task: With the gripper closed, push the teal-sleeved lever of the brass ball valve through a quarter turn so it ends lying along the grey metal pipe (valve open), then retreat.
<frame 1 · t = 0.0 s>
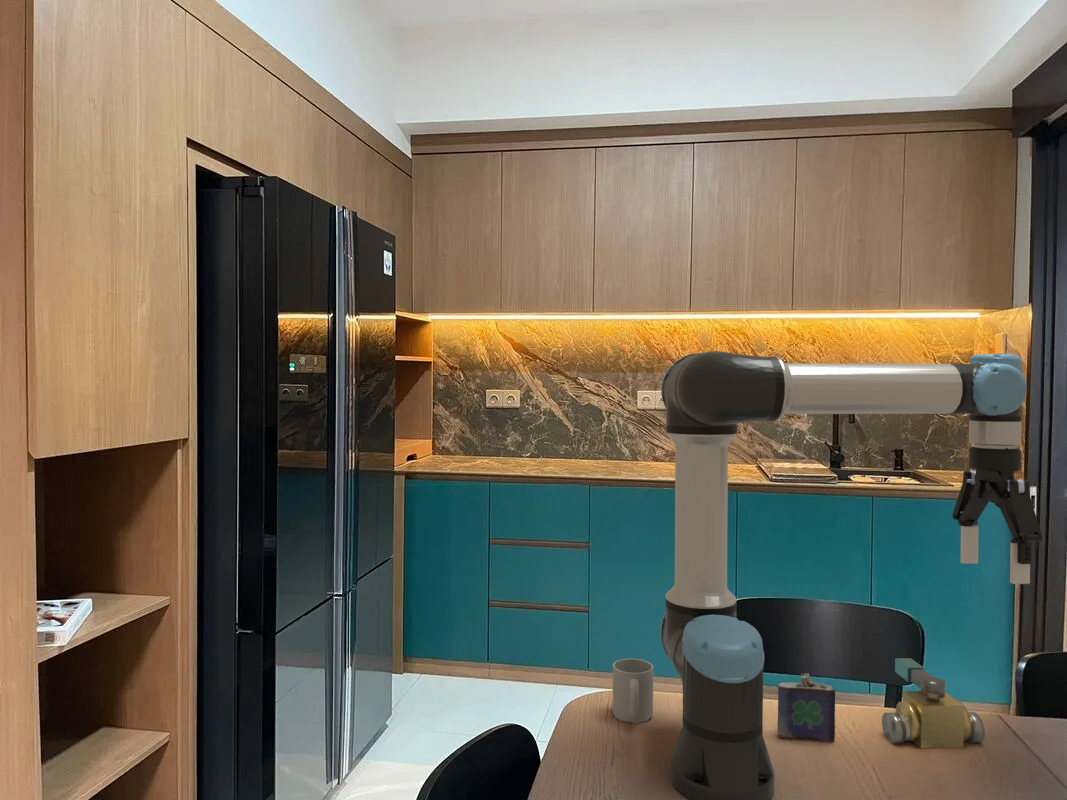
hand: (993, 572, 127), 28 cm above the table, fingers open, 13 cm apart
cup: (633, 719, 136), on the table
pipe valve: (932, 739, 128), on the table
lever: (920, 677, 131), point 9 cm above the table, hinge at 90.0°
flask: (805, 739, 128), on the table
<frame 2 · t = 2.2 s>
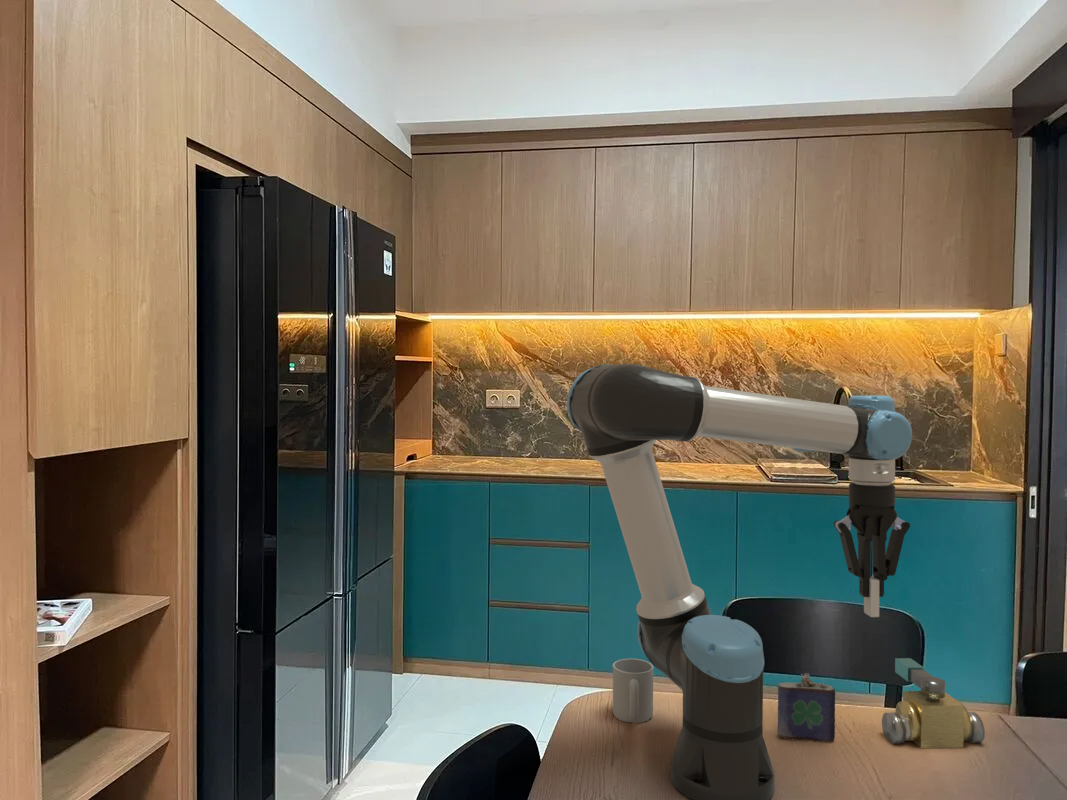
hand: (871, 614, 135), 19 cm above the table, fingers closed
nothing on the table moved.
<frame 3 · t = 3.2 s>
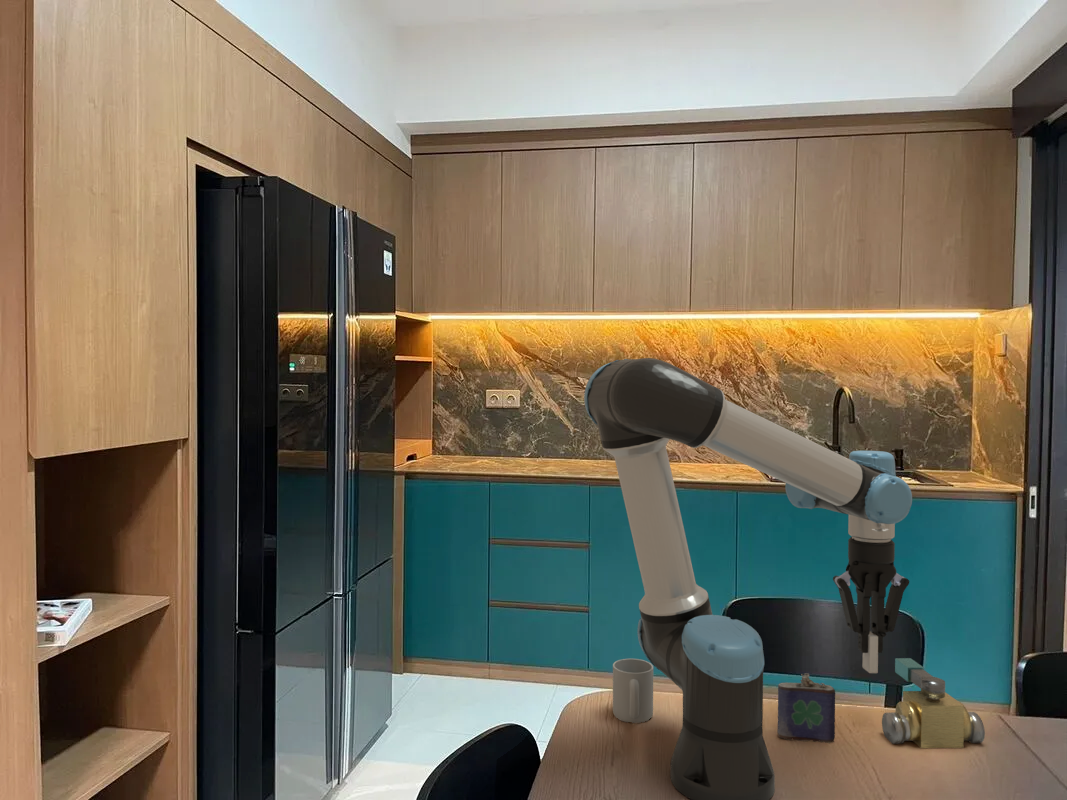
hand: (870, 670, 135), 9 cm above the table, fingers closed
nothing on the table moved.
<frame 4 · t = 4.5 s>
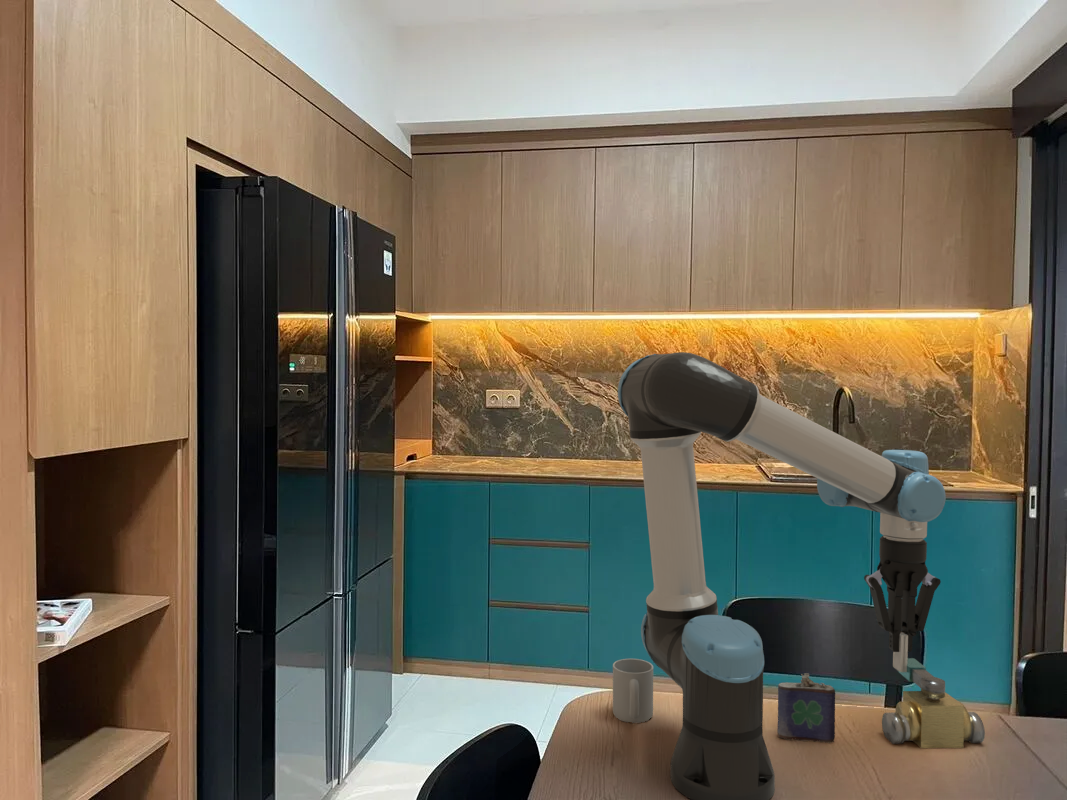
hand: (900, 669, 135), 9 cm above the table, fingers closed
lever: (921, 677, 131), point 9 cm above the table, hinge at 86.5°, touching gripper
everything else where it was.
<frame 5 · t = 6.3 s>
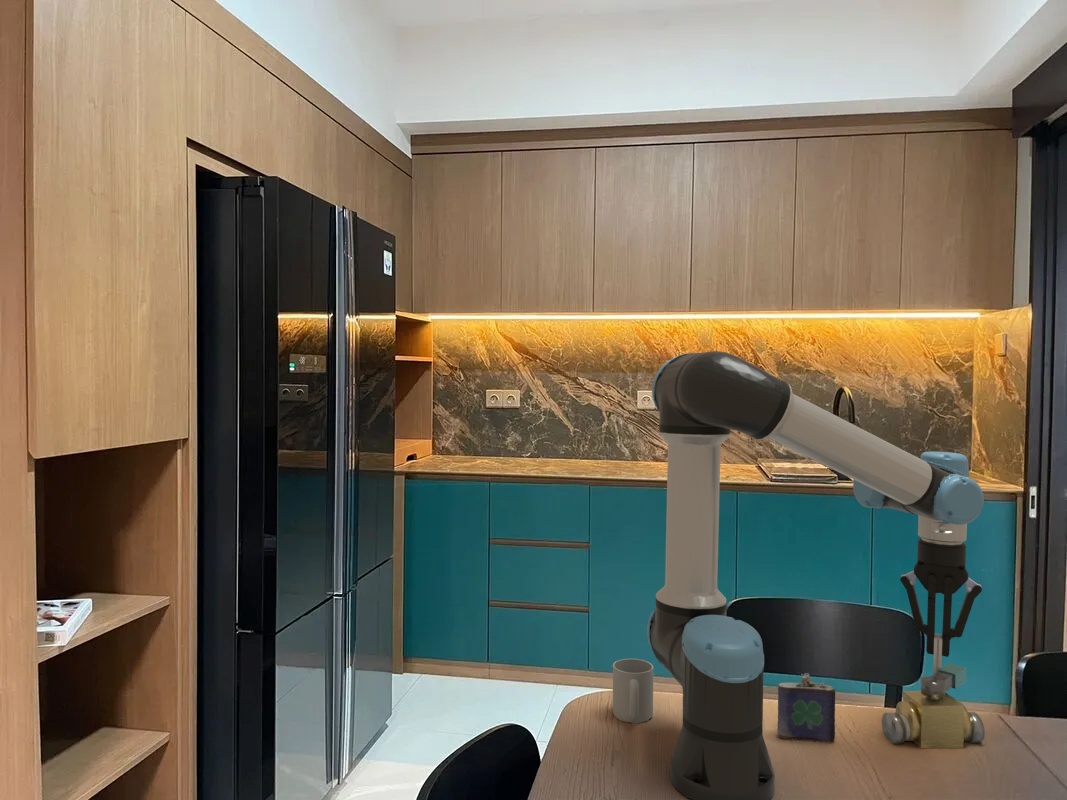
hand: (937, 672, 134), 9 cm above the table, fingers closed
lever: (943, 681, 130), point 9 cm above the table, hinge at 38.7°, touching gripper
everything else where it was.
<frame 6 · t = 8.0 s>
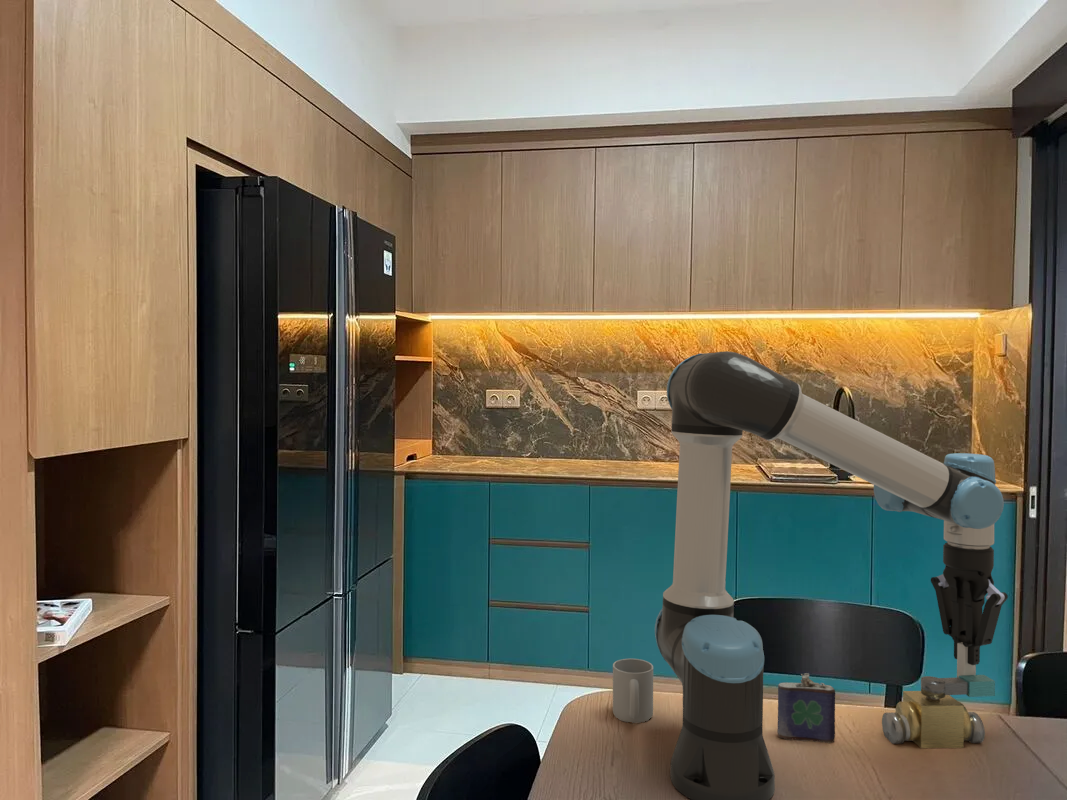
hand: (966, 680, 131), 9 cm above the table, fingers closed
lever: (956, 686, 128), point 9 cm above the table, hinge at 4.0°
everything else where it was.
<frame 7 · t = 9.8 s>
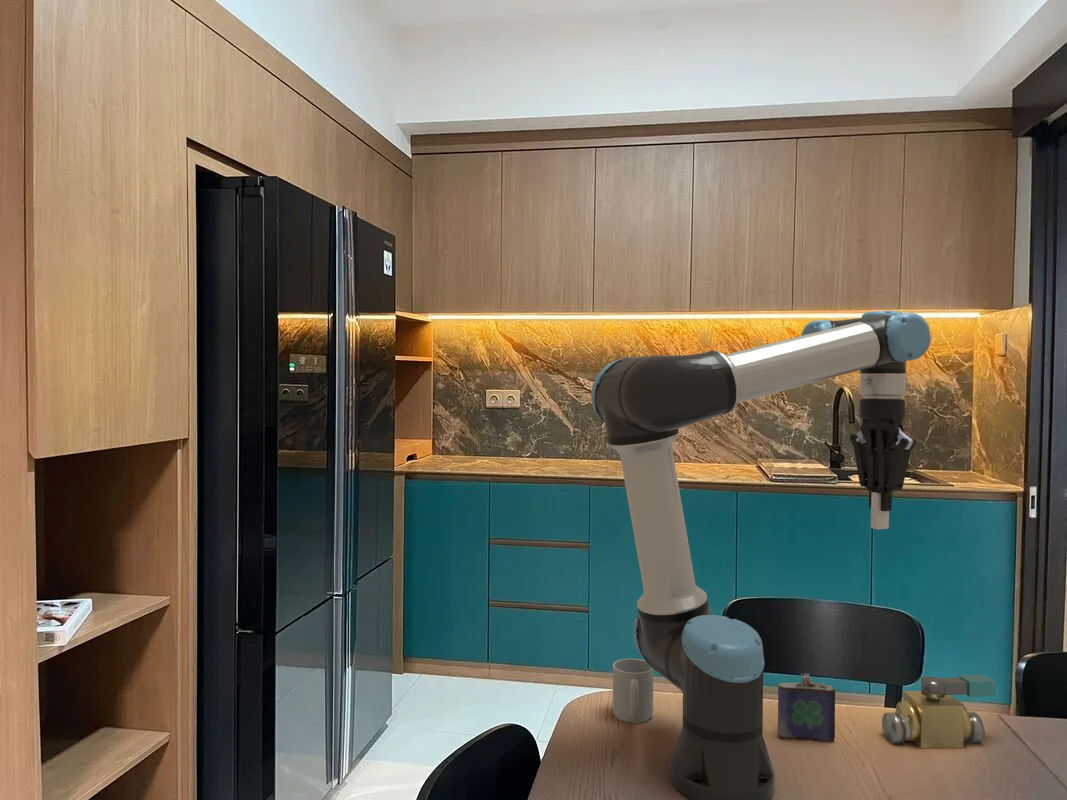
hand: (879, 528, 137), 34 cm above the table, fingers closed
nothing on the table moved.
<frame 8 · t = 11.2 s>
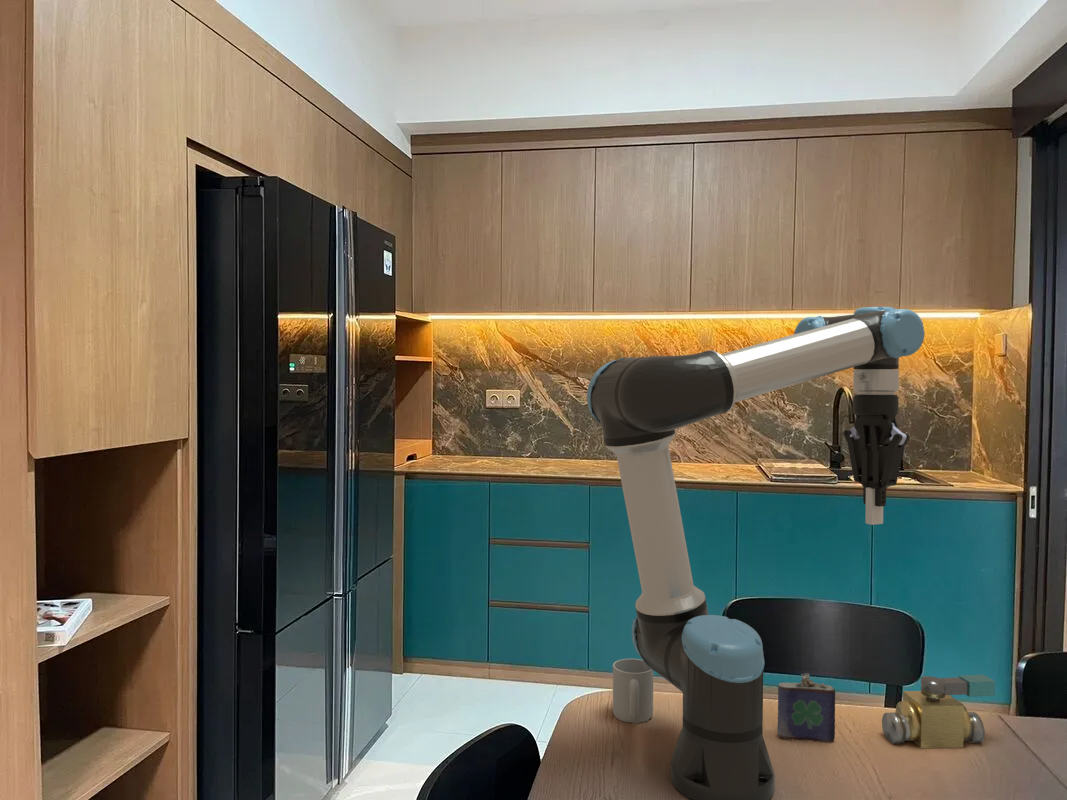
hand: (874, 523, 138), 34 cm above the table, fingers closed
nothing on the table moved.
at the end: lever at +4° (first picture: +90°) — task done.
